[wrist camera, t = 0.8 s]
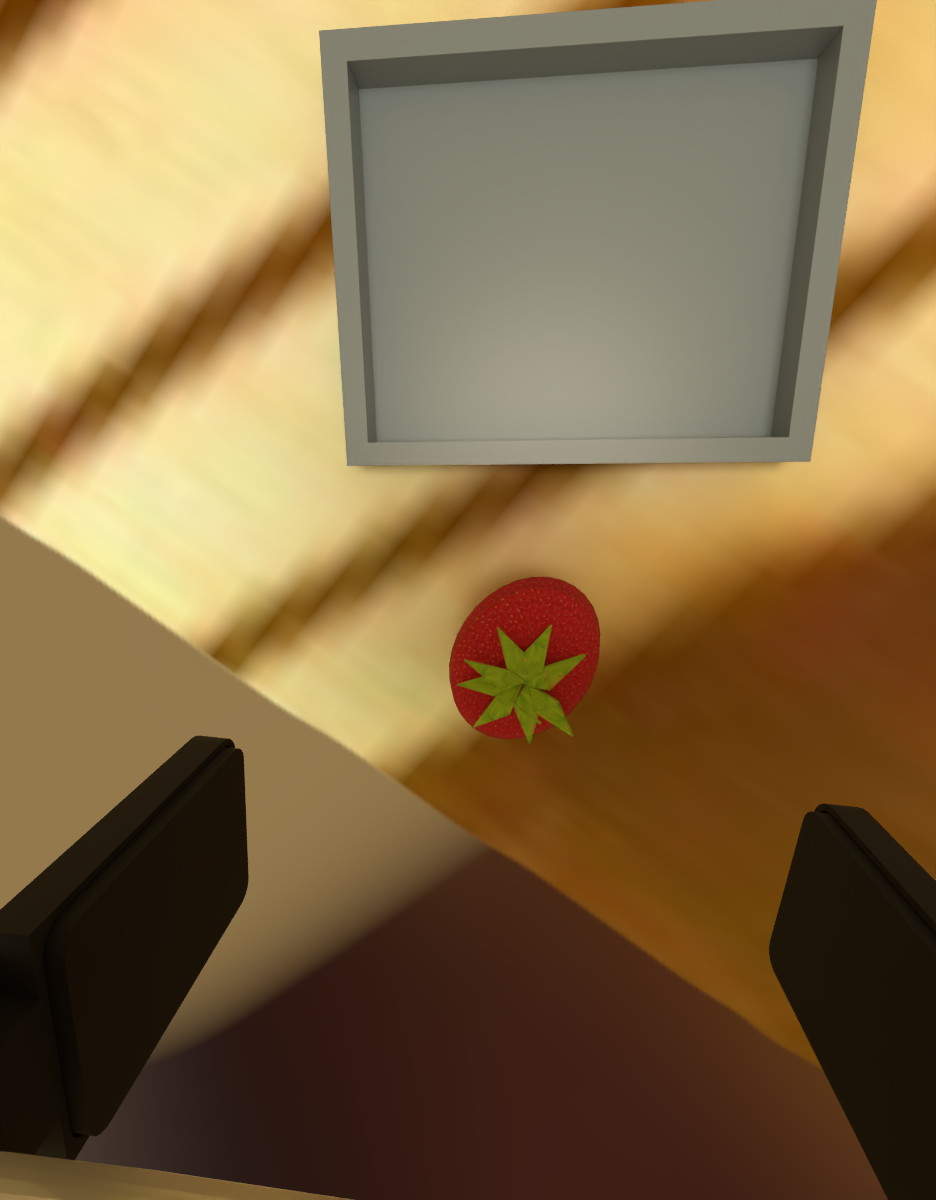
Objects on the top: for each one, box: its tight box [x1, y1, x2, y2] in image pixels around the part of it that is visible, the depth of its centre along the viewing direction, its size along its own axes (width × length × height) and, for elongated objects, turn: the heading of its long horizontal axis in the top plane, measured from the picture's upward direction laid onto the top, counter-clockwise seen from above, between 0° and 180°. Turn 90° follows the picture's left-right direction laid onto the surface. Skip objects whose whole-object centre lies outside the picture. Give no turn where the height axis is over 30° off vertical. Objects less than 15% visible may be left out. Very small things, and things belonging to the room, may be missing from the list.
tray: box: [319, 0, 877, 466], centre depth 23 cm, size 16×20×2 cm
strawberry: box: [449, 577, 600, 743], centre depth 24 cm, size 6×8×10 cm
